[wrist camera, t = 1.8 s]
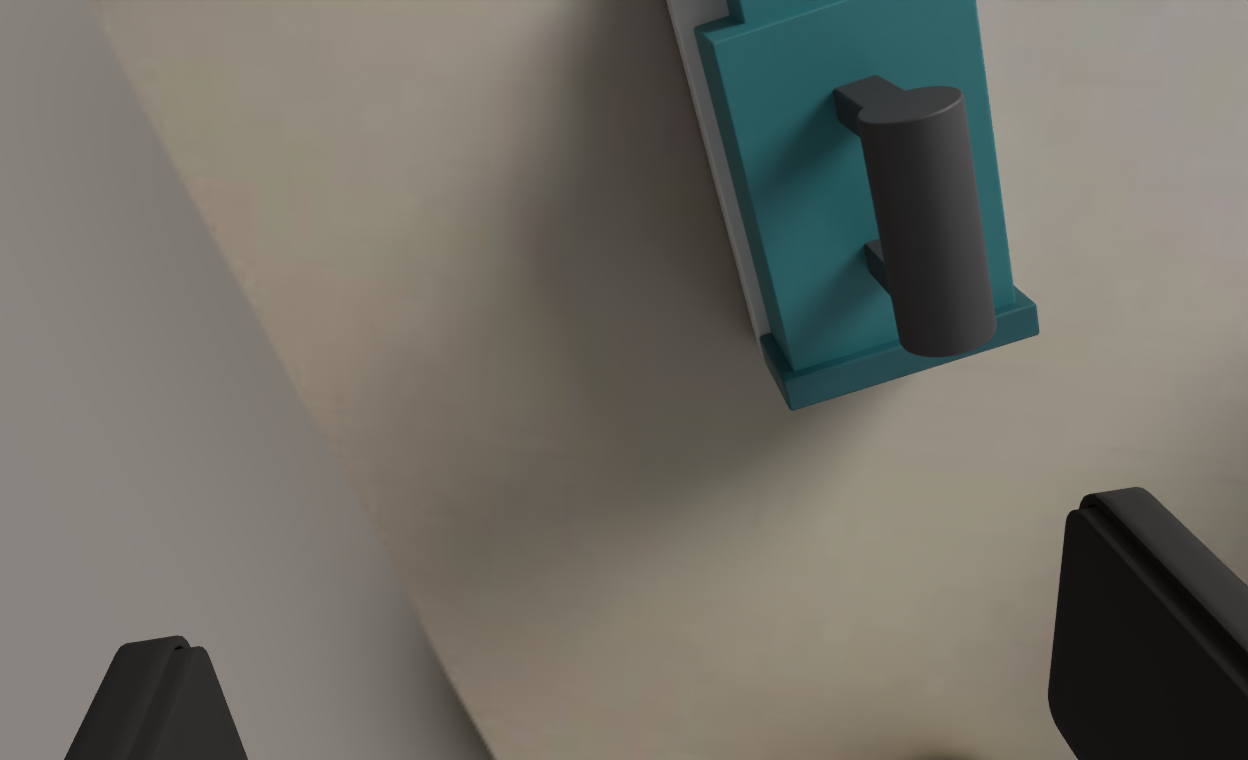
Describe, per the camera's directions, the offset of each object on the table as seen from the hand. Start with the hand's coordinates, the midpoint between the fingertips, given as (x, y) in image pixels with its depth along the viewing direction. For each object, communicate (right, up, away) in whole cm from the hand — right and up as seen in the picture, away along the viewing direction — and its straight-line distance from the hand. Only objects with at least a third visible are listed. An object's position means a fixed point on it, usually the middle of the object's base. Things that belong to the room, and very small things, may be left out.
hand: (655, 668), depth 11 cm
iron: (+5, +11, +18) cm, 22 cm away
